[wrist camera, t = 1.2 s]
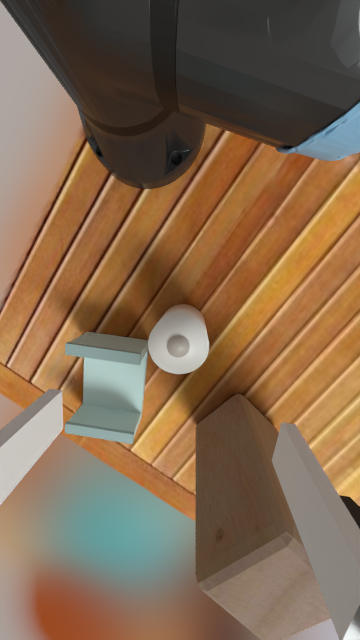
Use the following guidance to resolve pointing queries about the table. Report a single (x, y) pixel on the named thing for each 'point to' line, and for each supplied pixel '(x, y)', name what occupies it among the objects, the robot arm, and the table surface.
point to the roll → (179, 340)
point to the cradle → (109, 386)
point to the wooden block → (250, 527)
